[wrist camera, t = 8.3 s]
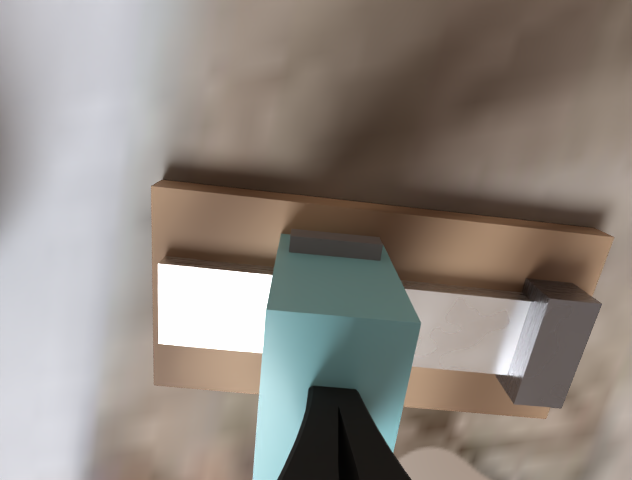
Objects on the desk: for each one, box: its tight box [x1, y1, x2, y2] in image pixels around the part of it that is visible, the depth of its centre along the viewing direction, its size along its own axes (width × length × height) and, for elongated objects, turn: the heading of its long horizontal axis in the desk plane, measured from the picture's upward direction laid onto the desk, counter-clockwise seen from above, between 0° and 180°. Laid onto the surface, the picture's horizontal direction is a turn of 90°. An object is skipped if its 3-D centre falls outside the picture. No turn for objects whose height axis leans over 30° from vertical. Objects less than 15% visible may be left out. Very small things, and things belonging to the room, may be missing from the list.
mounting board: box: [151, 180, 614, 419], centre depth 18 cm, size 18×9×1 cm, turn 83°
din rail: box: [158, 256, 602, 408], centre depth 17 cm, size 17×5×2 cm, turn 83°
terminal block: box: [253, 229, 421, 480], centre depth 14 cm, size 4×7×6 cm, turn 174°
